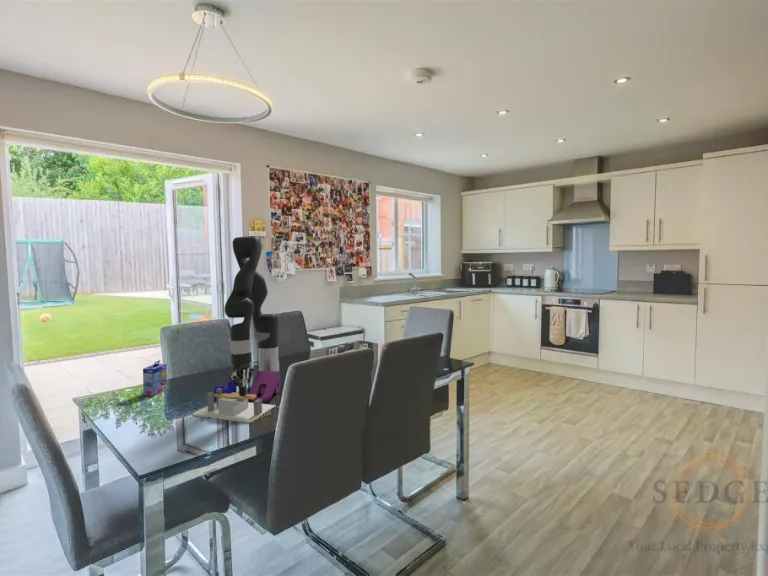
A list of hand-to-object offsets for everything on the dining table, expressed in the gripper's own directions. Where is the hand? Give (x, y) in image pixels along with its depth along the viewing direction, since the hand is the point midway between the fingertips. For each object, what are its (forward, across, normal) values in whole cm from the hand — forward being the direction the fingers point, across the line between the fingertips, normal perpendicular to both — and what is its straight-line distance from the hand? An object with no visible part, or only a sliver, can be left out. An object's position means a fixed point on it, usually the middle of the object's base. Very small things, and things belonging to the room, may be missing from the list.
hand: (242, 395), depth 163 cm
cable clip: (+6, -14, -20) cm, 25 cm away
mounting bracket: (+7, -21, -4) cm, 22 cm away
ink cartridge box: (+6, -12, -54) cm, 56 cm away
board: (+7, -2, -5) cm, 9 cm away
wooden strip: (+1, -1, -5) cm, 5 cm away
